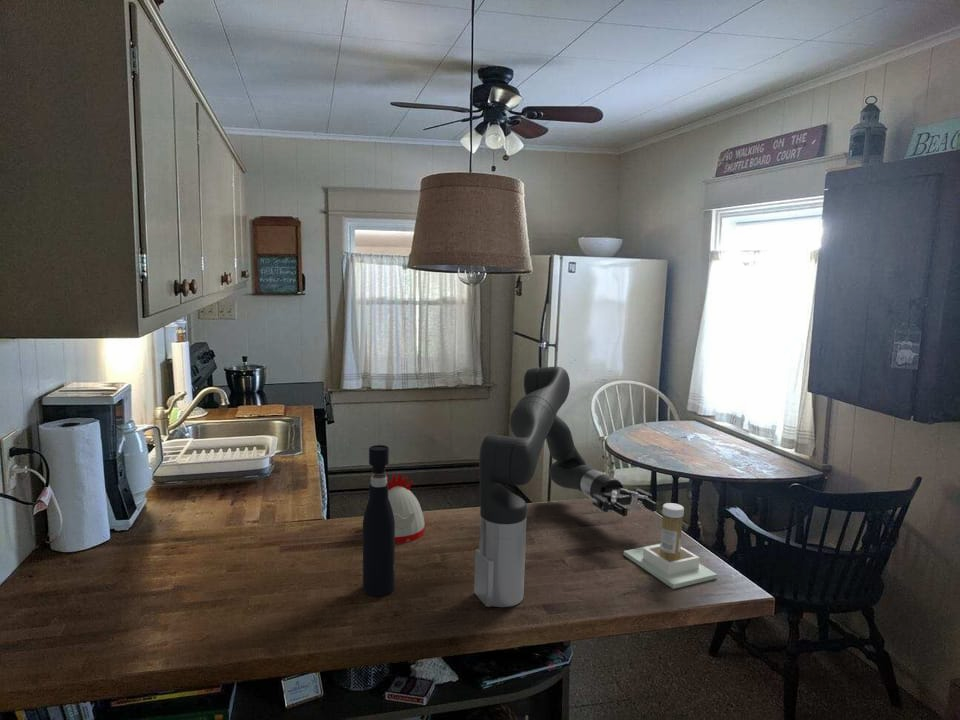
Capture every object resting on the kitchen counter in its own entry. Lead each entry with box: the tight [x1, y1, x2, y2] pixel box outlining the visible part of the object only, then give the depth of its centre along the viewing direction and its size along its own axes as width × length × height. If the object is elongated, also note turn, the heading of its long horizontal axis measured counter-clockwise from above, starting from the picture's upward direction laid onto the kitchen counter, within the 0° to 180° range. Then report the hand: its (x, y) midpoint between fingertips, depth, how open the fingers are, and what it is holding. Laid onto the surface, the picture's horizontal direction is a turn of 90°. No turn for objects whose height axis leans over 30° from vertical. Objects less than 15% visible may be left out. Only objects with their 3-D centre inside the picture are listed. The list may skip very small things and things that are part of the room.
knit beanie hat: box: [385, 472, 425, 544], centre depth 162 cm, size 14×14×15 cm
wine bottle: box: [362, 444, 396, 597], centre depth 132 cm, size 6×6×30 cm
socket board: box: [623, 543, 718, 590], centre depth 147 cm, size 12×17×4 cm
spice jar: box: [659, 502, 685, 562], centre depth 146 cm, size 5×5×13 cm
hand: (640, 510), depth 156 cm, fingers open, 8 cm apart
